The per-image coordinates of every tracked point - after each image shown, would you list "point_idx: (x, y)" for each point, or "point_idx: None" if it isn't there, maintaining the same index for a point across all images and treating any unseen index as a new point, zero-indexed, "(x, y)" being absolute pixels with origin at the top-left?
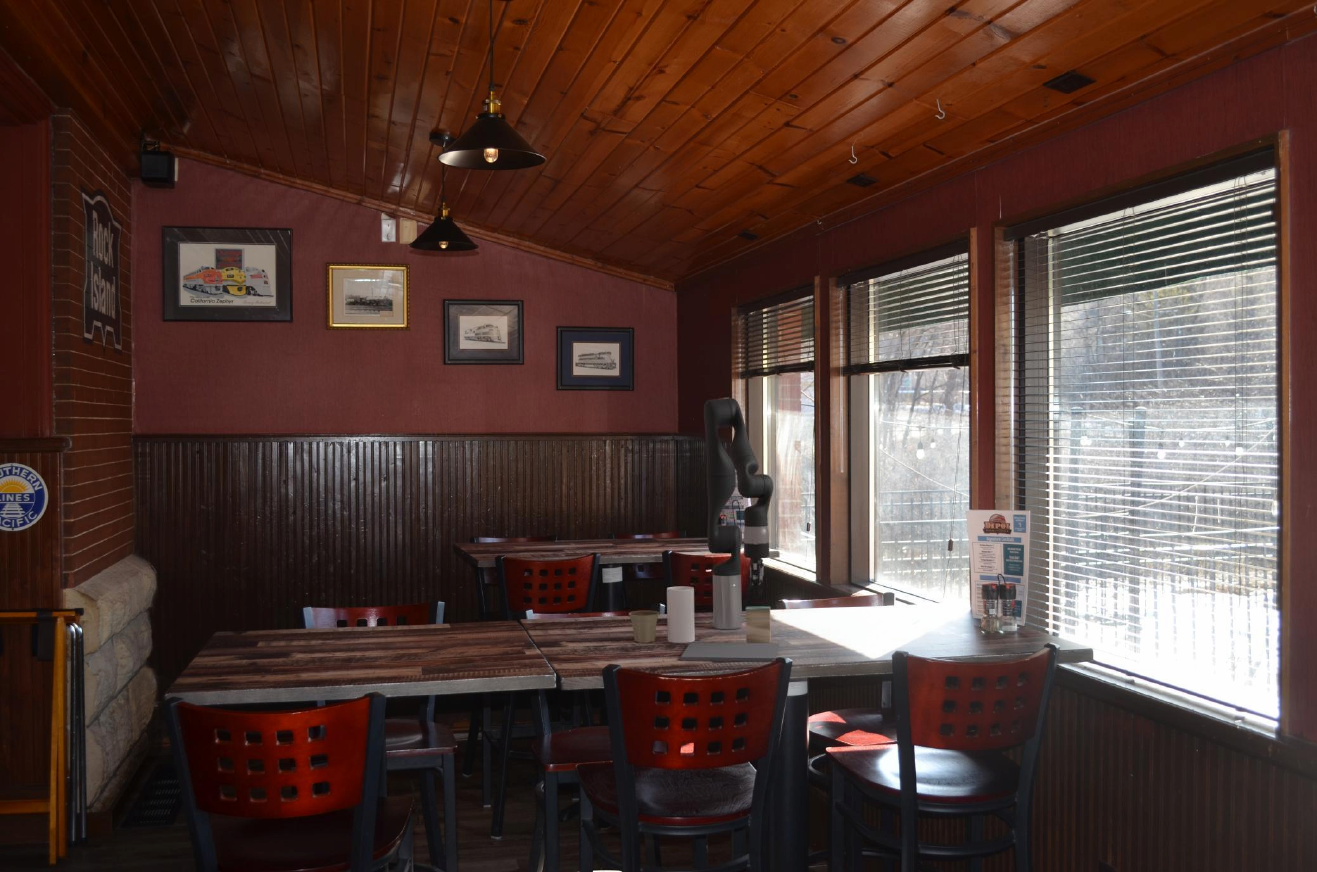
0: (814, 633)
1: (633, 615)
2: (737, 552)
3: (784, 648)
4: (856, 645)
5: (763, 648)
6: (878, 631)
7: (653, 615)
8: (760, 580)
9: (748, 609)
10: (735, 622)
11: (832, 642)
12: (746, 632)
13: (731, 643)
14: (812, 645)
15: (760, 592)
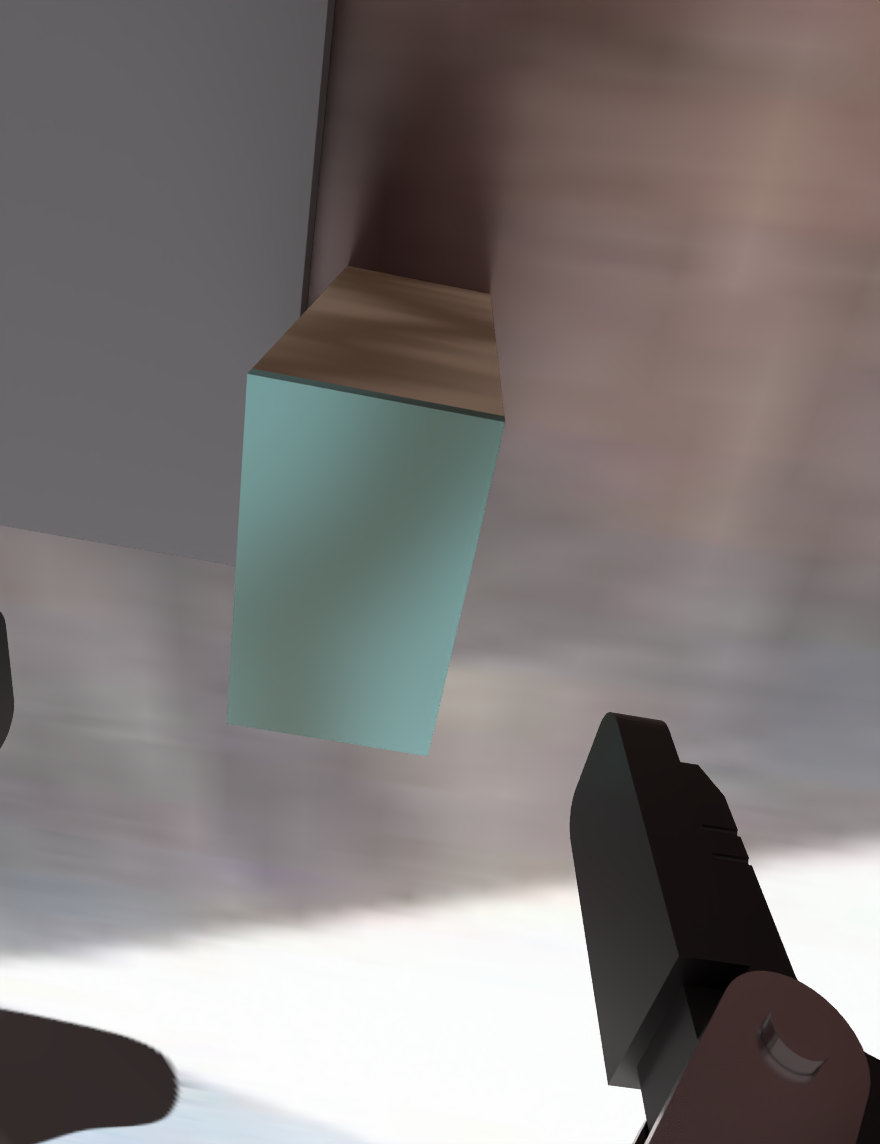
0: (812, 863)
1: None
2: None
3: (210, 591)
4: (322, 978)
5: (5, 410)
6: None
7: None
8: (650, 1109)
9: (250, 417)
10: None
11: (436, 897)
12: (322, 293)
13: (269, 65)
14: (334, 782)
15: (579, 819)
